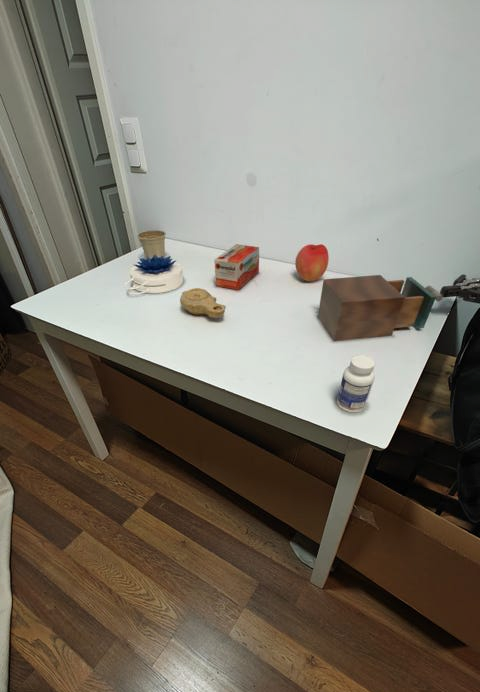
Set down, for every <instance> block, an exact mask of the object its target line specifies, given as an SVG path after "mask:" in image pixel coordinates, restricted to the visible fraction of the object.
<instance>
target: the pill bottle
mask: <svg viewBox="0 0 480 692" xmlns="http://www.w3.org/2000/svg"><path fill="white" fill-rule="evenodd" d="M375 365H376V362H375V360H374V359H373V358H372V357H370V356H368V355H363V354H359V355H358V354H357V355H355V356H352V357H351V359H350V362H349V365H348V366H347V367H345V368H344V370H343V373H342V378H341V381H340V384H339V385H340V386H339V389H338V393H337V398H336V404H337V405H338V407H339V408H341V410H343V411H345V412H349V413H359V412H362V411H363V410H364V409H365V408H366V405H367V403H368V399H369V396H370V394H371V390H372V388H373V385H374V382H375V377H376V375H375V372H374V368H375Z"/></svg>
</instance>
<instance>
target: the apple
mask: <svg viewBox="0 0 480 692" xmlns="http://www.w3.org/2000/svg"><path fill="white" fill-rule="evenodd" d="M329 259H330V258H329V251H328V248H327V246H325V245H324V244H322V243H321V244H312V243H311V244H306V245H305V246H303V247H301V249H300V250H299V251H298V252H297V254H296V257H295V261H294V262H295V270H296V272H297V274H298V275H299V276H300V278H302V279H303V280H304V281H306V282H314V281H316V280H319V279H320V278H321V277H322V276H324V274H325V272H326V271H327V269H328V265H329Z"/></svg>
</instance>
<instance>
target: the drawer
mask: <svg viewBox="0 0 480 692" xmlns="http://www.w3.org/2000/svg"><path fill="white" fill-rule="evenodd" d="M387 281H388V282H389V283H390V284H391V285H392V286H393V287H394V288H395V289H396V290H398V291H399V292H400V293H401V294H402V295H403V296H404V297H405V299H404V302H403V305H402V307H401V310H400V313H399V316H398V319H397V322H396V325H395V328H394V329H398V328H408V327H414V325H415V326H416V327H417V328H418V329H425V326H426V323H427V321H428V318H429V317H430V313H431V311H432V308H433V306H434V303H435V301H436V302H440V301H442V300H443V299H444V298H443V295H442V294H440V291H438V290H437V289H435V288H434V287H433V286H431V285H427V286H426V287H425V286H424V285H422V284H421V283H419V282H418V281H417V280H416V279H415V278H413V277H412V276H407V277H406V279H405V280H404V279H397V280H395V279H393V280H387Z"/></svg>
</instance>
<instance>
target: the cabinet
mask: <svg viewBox="0 0 480 692" xmlns="http://www.w3.org/2000/svg"><path fill="white" fill-rule="evenodd" d="M322 280H323V281H322V287H321V293H320V300H319V305H318V312H317V317H318V318H319V320H320V322H321V323H322V325H323V326H324V328H325V330H326V332H328V334H329V336H330V337H331V339H332V340H333V341H334V342H339V341H350V340H361V339H372V338H380V337H382V338H383V337H390V336H392V337H393V334H394V331H395V329H396V328H395V325H396V322H397V319H398V316H399V313H400V310H401V307H402V305H403V302H404V299H405V297H404V296H403V295H402V292H401V293H400V292H399V291H398V290H396V289H395V288H394V287H393V286H392V285H391V284H390V283H389V282H388V281H389V280H387V279H385V278H384V277H383V276H382V275H381V274H374V275H372V274H371V275H361V276H360V275H359V276H350V277H348V276H347V277H337V278H336V277H335V278H324V279H322Z"/></svg>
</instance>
